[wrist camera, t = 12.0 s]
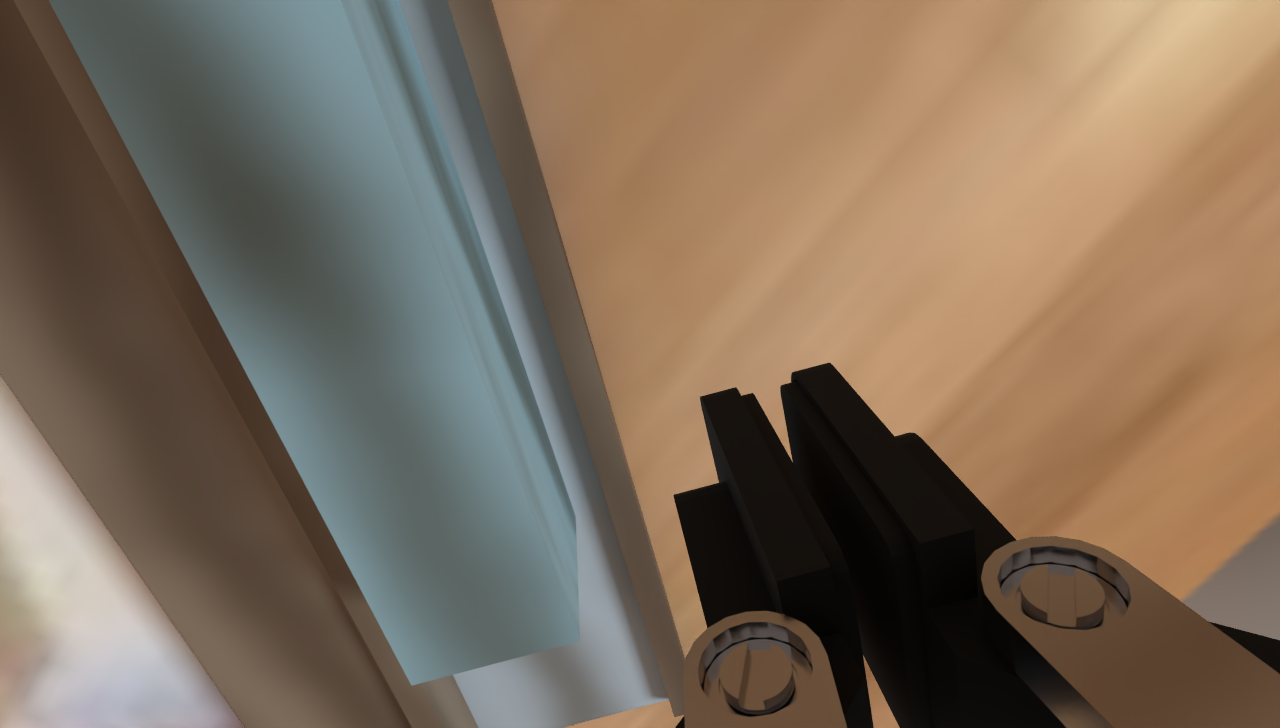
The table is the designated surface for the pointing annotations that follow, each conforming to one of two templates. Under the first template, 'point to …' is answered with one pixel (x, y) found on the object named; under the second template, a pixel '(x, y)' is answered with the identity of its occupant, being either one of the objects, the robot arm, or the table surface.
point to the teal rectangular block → (353, 302)
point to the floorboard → (245, 436)
